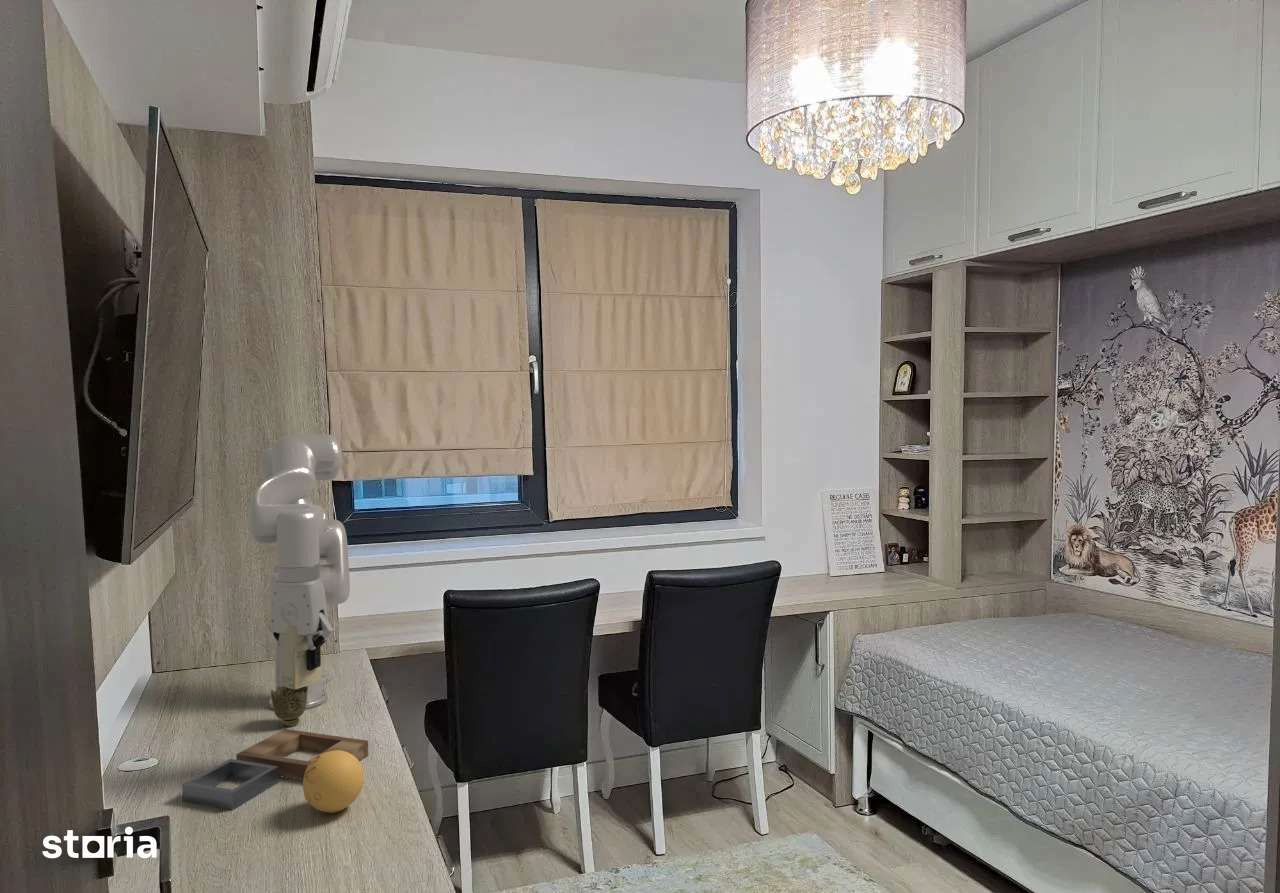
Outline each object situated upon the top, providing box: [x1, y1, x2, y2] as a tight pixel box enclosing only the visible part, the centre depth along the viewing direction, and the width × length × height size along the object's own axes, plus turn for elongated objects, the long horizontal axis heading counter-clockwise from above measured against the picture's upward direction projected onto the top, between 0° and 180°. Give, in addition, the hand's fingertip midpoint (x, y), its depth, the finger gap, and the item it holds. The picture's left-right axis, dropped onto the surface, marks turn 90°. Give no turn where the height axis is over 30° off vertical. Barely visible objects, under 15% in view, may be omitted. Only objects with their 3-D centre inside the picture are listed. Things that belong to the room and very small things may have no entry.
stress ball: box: [302, 750, 365, 814], centre depth 144 cm, size 10×10×10 cm
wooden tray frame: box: [236, 728, 369, 781], centre depth 163 cm, size 13×20×3 cm, turn 72°
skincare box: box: [280, 626, 322, 689], centre depth 162 cm, size 6×4×12 cm
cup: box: [270, 686, 308, 727], centre depth 182 cm, size 8×7×8 cm
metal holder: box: [181, 758, 280, 811], centre depth 151 cm, size 11×11×3 cm
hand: (301, 665), depth 162 cm, fingers closed on skincare box, 5 cm apart
